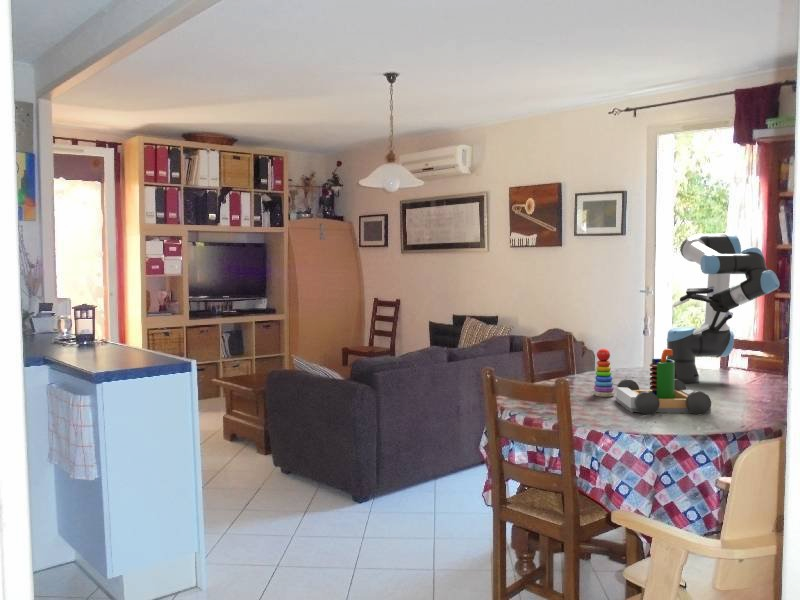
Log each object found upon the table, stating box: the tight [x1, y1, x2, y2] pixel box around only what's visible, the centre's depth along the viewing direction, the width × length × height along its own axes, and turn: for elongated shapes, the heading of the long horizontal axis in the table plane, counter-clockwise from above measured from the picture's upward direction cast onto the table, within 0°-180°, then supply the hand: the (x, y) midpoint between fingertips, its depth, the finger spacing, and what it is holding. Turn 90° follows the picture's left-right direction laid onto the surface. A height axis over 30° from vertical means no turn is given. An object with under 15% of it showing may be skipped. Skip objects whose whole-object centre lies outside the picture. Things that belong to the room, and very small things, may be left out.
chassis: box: [615, 378, 712, 415], centre depth 264 cm, size 25×28×8 cm
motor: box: [649, 348, 675, 399], centre depth 264 cm, size 10×9×20 cm
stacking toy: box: [593, 348, 615, 398], centre depth 284 cm, size 8×8×19 cm
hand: (683, 318), depth 280 cm, fingers open, 13 cm apart
